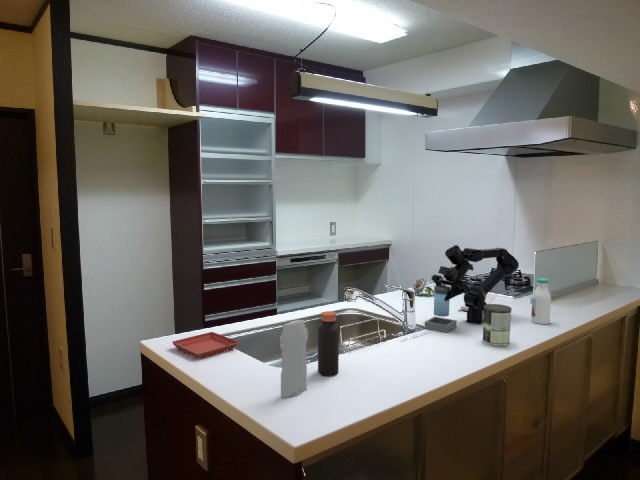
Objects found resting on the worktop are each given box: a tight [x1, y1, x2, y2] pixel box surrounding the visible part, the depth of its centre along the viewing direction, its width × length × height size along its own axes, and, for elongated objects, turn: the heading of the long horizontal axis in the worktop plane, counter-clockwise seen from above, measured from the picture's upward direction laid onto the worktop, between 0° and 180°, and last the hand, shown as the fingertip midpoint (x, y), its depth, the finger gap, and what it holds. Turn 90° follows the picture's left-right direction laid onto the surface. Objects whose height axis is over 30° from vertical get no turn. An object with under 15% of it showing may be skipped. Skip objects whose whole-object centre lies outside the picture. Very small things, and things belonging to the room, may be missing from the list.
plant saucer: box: [172, 331, 240, 359], centre depth 180 cm, size 18×18×3 cm
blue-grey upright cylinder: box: [433, 285, 451, 318], centre depth 209 cm, size 7×7×12 cm
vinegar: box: [317, 310, 340, 377], centre depth 157 cm, size 7×7×20 cm
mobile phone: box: [458, 293, 497, 312], centre depth 243 cm, size 6×6×25 cm
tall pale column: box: [279, 319, 309, 399], centre depth 141 cm, size 11×4×22 cm, turn 135°
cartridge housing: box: [423, 316, 458, 333], centre depth 210 cm, size 10×10×3 cm
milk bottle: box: [530, 277, 552, 325], centre depth 219 cm, size 8×8×20 cm
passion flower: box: [410, 277, 436, 297], centre depth 274 cm, size 11×11×12 cm
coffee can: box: [482, 303, 513, 347], centre depth 190 cm, size 10×10×14 cm
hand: (439, 298), depth 208 cm, fingers closed on blue-grey upright cylinder, 6 cm apart
